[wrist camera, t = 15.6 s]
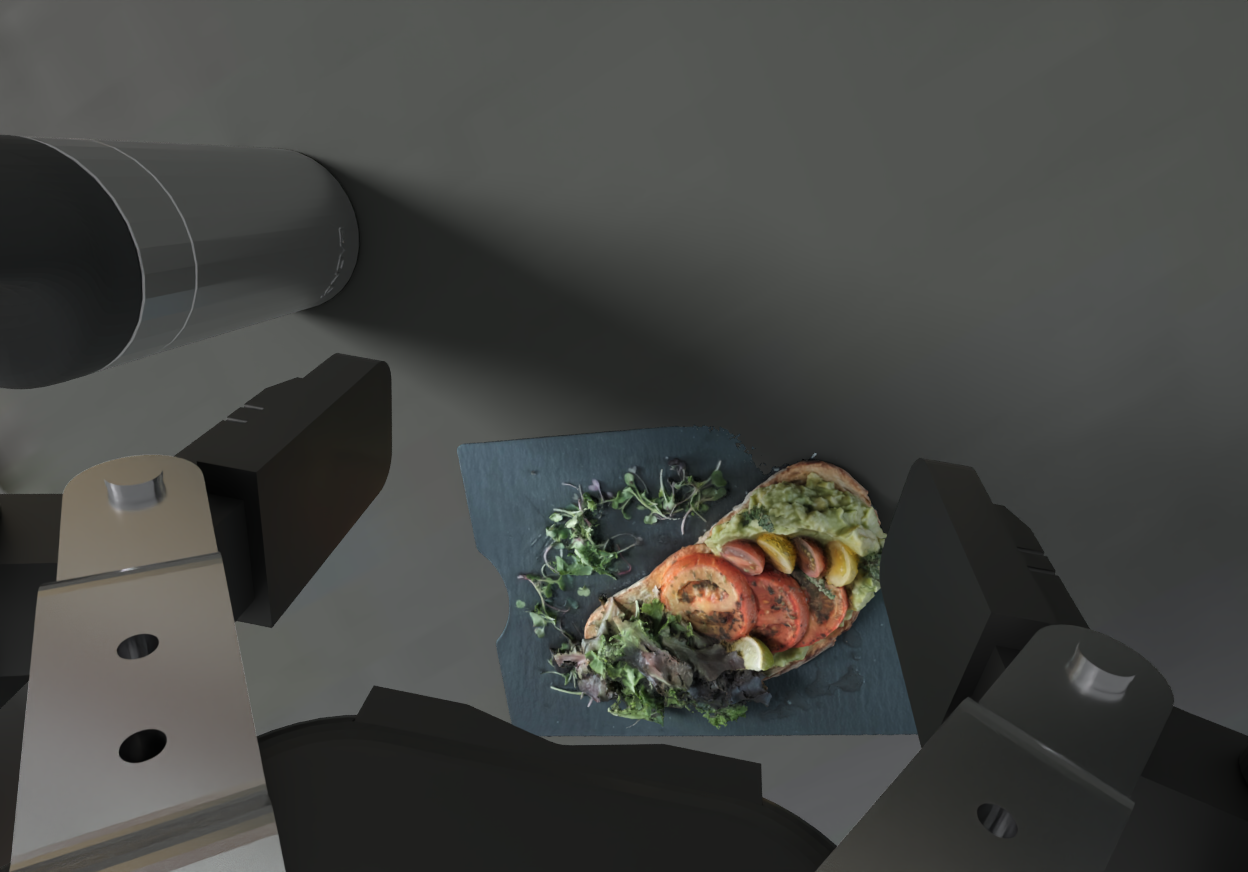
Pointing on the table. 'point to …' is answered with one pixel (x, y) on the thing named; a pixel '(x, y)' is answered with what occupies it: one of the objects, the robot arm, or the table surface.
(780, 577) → the plated dish
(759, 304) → the table surface
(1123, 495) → the table surface
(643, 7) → the table surface
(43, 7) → the table surface
